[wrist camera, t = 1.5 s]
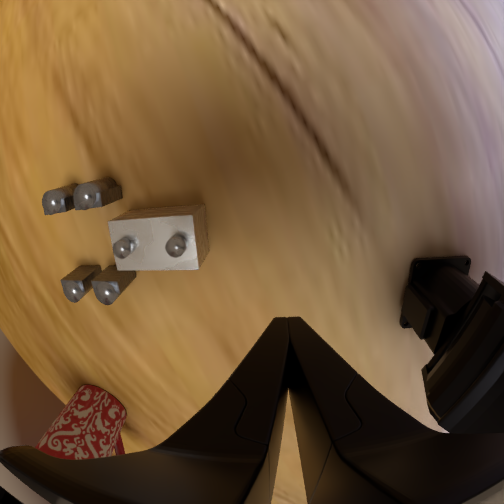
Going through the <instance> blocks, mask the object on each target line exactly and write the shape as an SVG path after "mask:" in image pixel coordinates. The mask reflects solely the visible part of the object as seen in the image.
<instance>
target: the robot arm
mask: <svg viewBox="0 0 504 504" xmlns="http://www.w3.org/2000/svg"><path fill="white" fill-rule="evenodd" d="M465 262H466V263H465ZM418 263H419V265H418V266H417V267H416V265H417V264H418ZM470 264H471V259H470V258H469V257H468V256H454V257H434V258H416V259H414V260H413V262H412V264H411V270H410V276H409V281H408V285H407V286H406V291H405V296H404V301H403V305H402V310H401V311H402V315H401V319H400V325H401V327H402V328H413V329H414V331H415V332H416V334H417V335H418V337H419V338H420V339H421V340H422V339H424V340H425V341H426V343H427V344H428V346H429V347H430V349H431V350H432V352H433V354H434V356H433V357H432V359H431V360H430V361H429V363H428V364H426V365H425V366H424V367H423V368H422V370H421V371H422V376H423V381H424V387H425V392H426V399H427V405H428V408H429V412H430V414H431V415H432V416H433V417H434V419H435V420H436V421H437V423H438V425H440V426H441V427H442V428H444V429H445V430H446V431H448V432H449V433H442V432H438V431H435V430H432V429H430V428H428V427H426V426H425V425H423V424H422V423H420V422H419V421H417V420H416V419H415V418H413V417H412V416H410V415H409V414H408V413H406V412H405V411H403V410H402V409H401V408H399V407H398V406H396V405H395V404H394V403H392V402H391V401H390V400H388V399H387V398H386V397H385V396H383V395H382V394H381V393H379V392H378V391H377V390H376V389H375V388H374V387H373V386H371V385H370V384H369V383H368V382H367V381H366V380H365V379H364V378H363V377H362V376H361V375H360V374H358V373H357V372H356V371H355V370H354V369H353V368H352V367H351V366H350V365H349V364H348V363H347V362H346V361H345V360H344V359H343V358H342V357H341V356H340V355H339V354H338V353H337V352H336V351H335V350H334V349H333V348H332V347H331V346H330V345H329V344H328V343H326V342H325V341H324V340H323V339H322V338H321V337H320V336H319V335H318V334H317V333H316V332H315V331H314V330H313V329H312V328H311V327H310V326H309V325H308V324H307V323H306V322H305V321H304V320H303V319H302V318H301V317H288V318H286V317H275V318H274V319H273V320H272V321H271V323H270V324H269V325H268V327H267V328H266V329H265V331H264V332H263V334H262V335H261V336H260V338H259V339H258V340H257V342H256V343H255V344H254V346H253V347H252V348H251V350H250V351H249V352H248V354H247V355H246V356H245V358H244V359H243V360H242V362H241V363H240V364H239V365H238V367H237V368H236V369H235V371H234V372H233V373H232V374H231V376H230V377H229V378H228V380H227V381H226V382H225V383H224V384H223V386H222V387H221V388H220V389H219V391H218V392H217V393H216V394H215V395H214V396H213V397H212V399H211V400H210V401H209V402H208V403H207V404H206V405H205V406H204V407H203V408H201V409H200V410H199V411H198V412H197V413H196V414H195V415H194V416H193V417H192V418H191V419H189V420H188V421H187V422H186V423H185V424H184V425H183V426H181V427H180V428H179V429H178V430H177V431H176V432H175V433H173V434H172V435H171V436H170V437H169V438H167V439H166V440H165V441H163V442H162V443H160V444H159V445H157V446H155V447H153V448H151V449H148V450H145V451H140V452H134V453H129V454H122V455H116V456H108V457H100V458H91V459H78V460H70V459H61V458H57V457H53V456H51V455H48V454H46V453H44V452H42V451H40V450H38V449H36V448H34V447H32V446H29V445H22V446H12V447H8V448H5V449H3V450H0V462H1V463H2V464H3V465H4V466H5V467H6V468H7V469H8V470H9V471H10V472H11V473H13V474H14V475H15V476H16V477H17V478H18V479H20V480H21V481H22V482H23V483H24V484H26V485H27V486H28V487H29V488H31V489H32V490H33V491H35V492H36V493H37V494H39V495H40V496H41V497H43V498H44V499H46V500H47V501H49V502H50V503H51V504H271V500H272V495H273V489H274V484H275V478H276V472H277V466H278V459H279V453H280V447H281V440H282V433H283V426H284V418H285V411H286V403H287V395H288V388H289V395H290V400H291V406H292V412H293V418H294V424H295V430H296V436H297V441H298V447H299V453H300V459H301V466H302V472H303V478H304V484H305V490H306V496H307V503H308V504H504V283H503V282H501V281H500V280H498V279H497V278H495V277H494V276H492V275H491V274H489V273H488V272H486V271H485V273H484V275H483V277H482V278H483V279H482V281H481V283H480V285H479V284H478V283H476V282H475V281H474V280H473V279H471V278H470V277H469V276H468V273H469V269H470ZM405 322H406V323H405ZM404 323H405V324H404ZM0 504H23V503H22V502H21V501H19V500H18V499H17V498H15V497H14V496H13V495H11V494H10V493H9V492H7V491H6V490H5V489H4V488H2V487H1V486H0Z"/></svg>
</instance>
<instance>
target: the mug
mask: <svg viewBox="0 0 504 504" xmlns="http://www.w3.org/2000/svg"><path fill="white" fill-rule="evenodd" d="M125 419H126V411H125V409H124V407H123V406H122V405H121V403H120V402H119V401H118V400H117V399H116V398H115V397H113V396H112V395H111V394H109V393H108V392H106V391H104V390H103V389H101V388H98V387H96V386H92V385H83V386H81V387H80V388H79V389H78V391H77V392H76V393H75V394H74V396H73V397H72V399H71V400H70V401H69V402H68V404H67V405H66V406H65V407H64V409H63V410H62V412H61V413H60V414H59V416H58V417H57V418H56V420H55V421H54V422H53V424H52V425H51V427H50V428H49V429H48V430H47V432H46V433H45V435H44V436H43V437H42V439H41V440H40V441H39V443H38V444H37V446H36V447H35V448H36V449H38V450H40V451H42V452H44V453H46V454H48V455H51V456H53V457H57V458H61V459H70V460H78V459H91V458H100V457H108V456H111V455H112V452H113V450H114V449H115V453H116V455H122V454H125V451H124V447H123V443H122V438H121V435H120V431H121V429H122V426H123V424H124V422H125Z"/></svg>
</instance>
